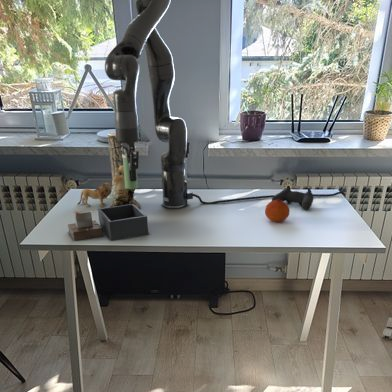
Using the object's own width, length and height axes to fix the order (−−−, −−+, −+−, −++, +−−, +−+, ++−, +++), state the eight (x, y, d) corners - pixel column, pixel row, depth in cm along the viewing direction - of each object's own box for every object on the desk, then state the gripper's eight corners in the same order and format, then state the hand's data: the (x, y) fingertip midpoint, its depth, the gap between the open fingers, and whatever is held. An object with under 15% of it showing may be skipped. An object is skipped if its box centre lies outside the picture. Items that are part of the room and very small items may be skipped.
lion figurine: (113, 202, 209) (111, 180, 204) (112, 206, 205) (110, 184, 200) (78, 204, 208) (75, 182, 203) (76, 208, 204) (73, 185, 199)
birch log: (126, 196, 216) (121, 134, 203) (111, 195, 218) (105, 134, 204) (131, 191, 222) (126, 131, 208) (116, 191, 223) (110, 130, 209)
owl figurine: (115, 202, 210) (110, 159, 200) (142, 202, 209) (139, 159, 200) (105, 216, 195) (100, 171, 185) (135, 216, 194) (131, 171, 185)
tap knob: (91, 223, 179) (89, 209, 176) (93, 225, 177) (91, 211, 174) (76, 226, 177) (73, 211, 174) (77, 228, 175) (75, 213, 173)
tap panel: (95, 227, 184) (94, 219, 183) (102, 236, 177) (101, 227, 175) (68, 232, 181) (67, 223, 179) (74, 241, 174) (73, 232, 172)
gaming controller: (309, 216, 200) (319, 197, 203) (308, 206, 195) (318, 187, 198) (271, 209, 207) (281, 191, 210) (269, 199, 203) (279, 181, 206)
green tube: (135, 184, 176) (133, 151, 170) (140, 188, 173) (137, 154, 166) (123, 186, 175) (120, 153, 168) (127, 189, 171) (124, 156, 165)
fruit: (293, 221, 188) (295, 200, 183) (274, 226, 184) (276, 204, 179) (278, 215, 194) (280, 194, 190) (260, 219, 190) (261, 198, 186)
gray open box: (134, 220, 190) (133, 203, 187) (148, 234, 178) (147, 216, 175) (99, 226, 186) (97, 208, 182) (111, 240, 174) (109, 221, 170)
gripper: (145, 128, 158) (148, 183, 168) (131, 121, 169) (134, 173, 179) (122, 130, 156) (126, 185, 165) (109, 123, 167) (114, 175, 176)
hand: (131, 178), depth 172 cm, fingers closed on green tube, 4 cm apart
